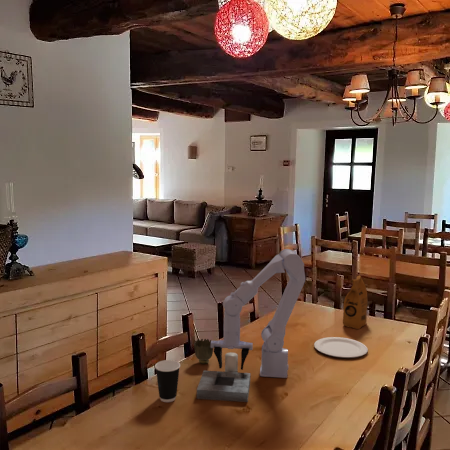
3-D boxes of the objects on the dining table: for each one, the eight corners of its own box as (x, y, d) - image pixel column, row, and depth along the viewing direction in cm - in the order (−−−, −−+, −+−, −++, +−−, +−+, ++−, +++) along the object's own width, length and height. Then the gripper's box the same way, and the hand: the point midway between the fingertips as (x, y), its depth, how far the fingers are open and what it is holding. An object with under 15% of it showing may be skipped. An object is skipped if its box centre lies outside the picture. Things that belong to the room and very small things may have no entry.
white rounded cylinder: (238, 371, 170) (238, 352, 169) (236, 377, 166) (237, 357, 165) (225, 370, 171) (225, 352, 170) (224, 376, 167) (224, 357, 166)
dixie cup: (185, 397, 152) (185, 364, 150) (168, 407, 145) (168, 372, 144) (167, 390, 156) (166, 357, 155) (149, 399, 150) (149, 366, 148)
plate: (309, 355, 186) (309, 351, 186) (319, 337, 205) (319, 333, 205) (364, 364, 178) (364, 360, 178) (370, 345, 197) (370, 341, 197)
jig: (250, 381, 163) (250, 373, 162) (247, 402, 149) (247, 392, 149) (203, 378, 165) (203, 370, 164) (196, 398, 151) (196, 389, 150)
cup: (211, 367, 173) (211, 346, 172) (191, 365, 175) (191, 344, 174) (215, 359, 180) (215, 339, 179) (196, 357, 182) (196, 337, 181)
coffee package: (338, 325, 219) (340, 278, 216) (349, 318, 229) (351, 273, 226) (360, 330, 213) (362, 282, 210) (369, 323, 223) (372, 276, 220)
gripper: (209, 333, 163) (209, 371, 165) (252, 335, 162) (251, 374, 163) (212, 326, 170) (212, 363, 172) (253, 328, 169) (252, 365, 170)
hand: (231, 367), depth 168 cm, fingers open, 7 cm apart
